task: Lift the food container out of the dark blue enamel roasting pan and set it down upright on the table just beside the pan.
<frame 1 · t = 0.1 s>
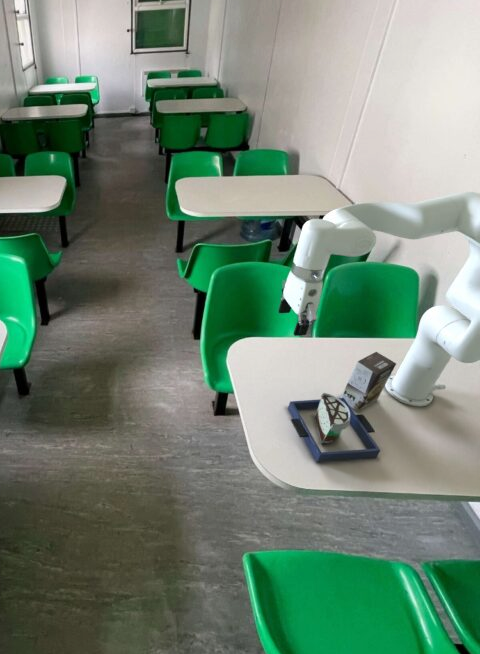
hand: (291, 323, 114), 31 cm above the table, tool pointing down, fingers open, 9 cm apart
coffee box: (358, 400, 132), on the table
roasting pan: (329, 432, 122), on the table
food container: (328, 432, 122), resting in roasting pan
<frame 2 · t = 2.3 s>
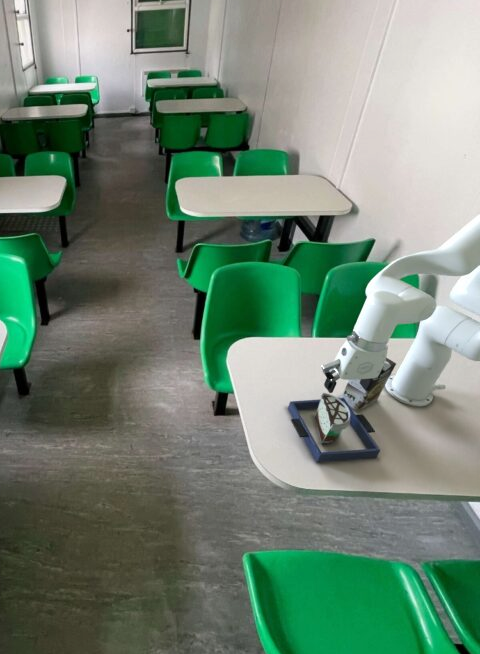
hand: (345, 388, 112), 18 cm above the table, tool pointing down, fingers open, 9 cm apart
nothing on the table moved.
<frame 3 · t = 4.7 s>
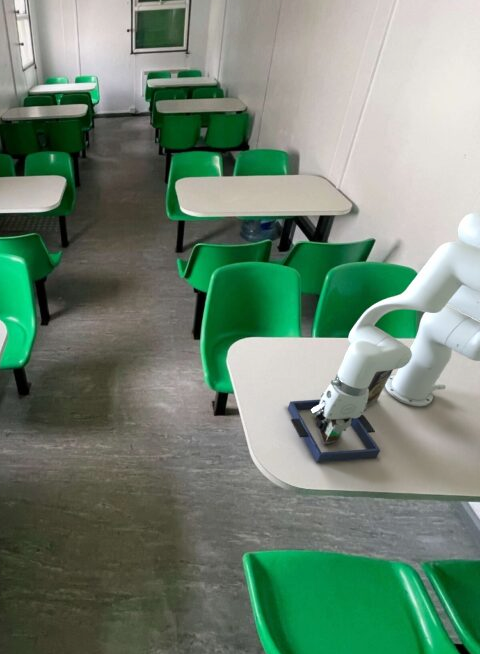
hand: (330, 427, 121), 3 cm above the table, tool pointing down, fingers closed on food container, 5 cm apart
food container: (330, 432, 122), resting in roasting pan, touching gripper
everything else where it was.
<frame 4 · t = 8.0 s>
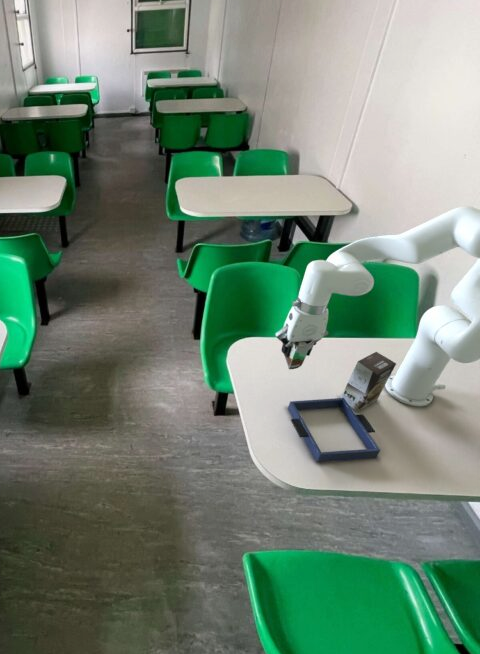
hand: (295, 352, 125), 17 cm above the table, tool pointing down, fingers closed on food container, 5 cm apart
food container: (295, 359, 127), point 14 cm above the table, touching gripper
everything else where it was.
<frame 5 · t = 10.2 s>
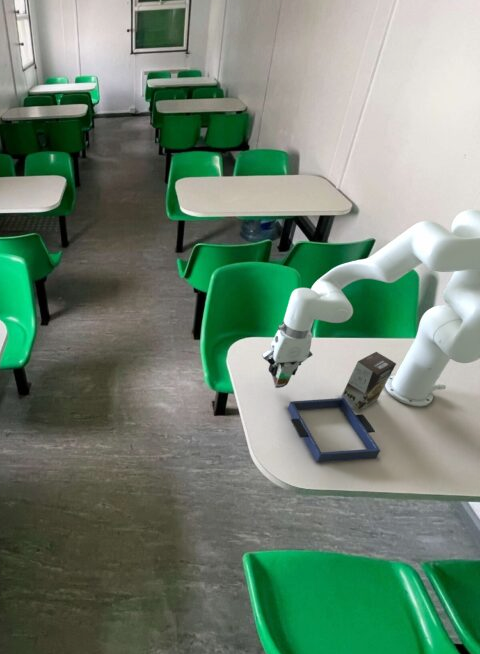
hand: (281, 372, 132), 7 cm above the table, tool pointing down, fingers closed on food container, 5 cm apart
food container: (282, 377, 134), point 4 cm above the table, touching gripper
everything else where it was.
when the fingers open (3 cm above the table, at t = 11.7 s): food container stays where it is, on the table.
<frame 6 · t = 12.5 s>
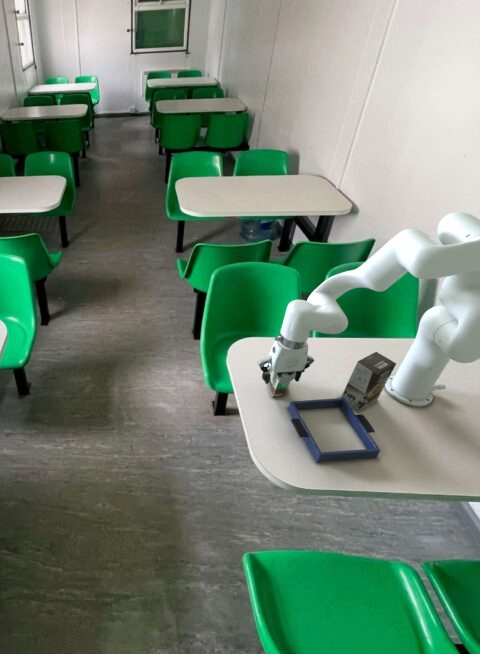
hand: (280, 379, 134), 4 cm above the table, tool pointing down, fingers open, 9 cm apart
food container: (279, 387, 137), on the table
everything else where it was.
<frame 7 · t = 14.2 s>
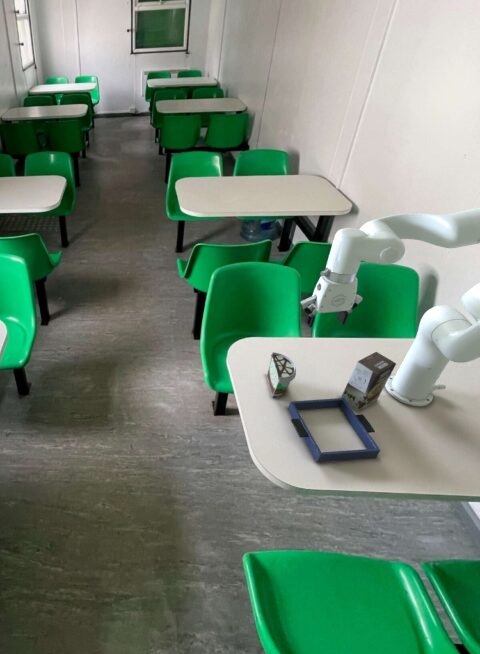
hand: (324, 323, 124), 25 cm above the table, tool pointing down, fingers open, 9 cm apart
nothing on the table moved.
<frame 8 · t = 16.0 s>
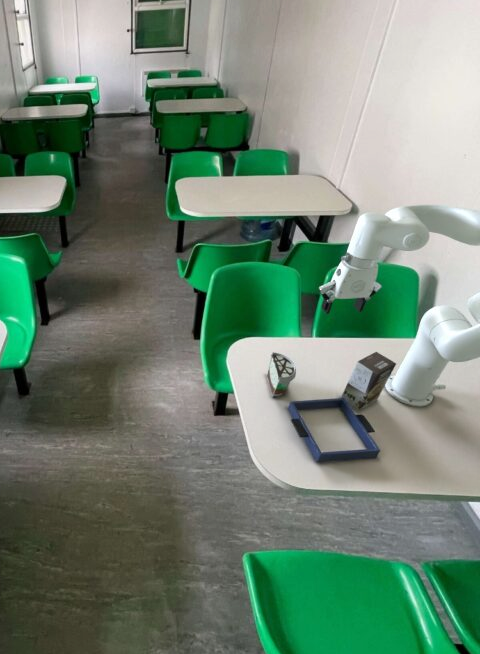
hand: (341, 310, 123), 28 cm above the table, tool pointing down, fingers open, 9 cm apart
nothing on the table moved.
at the end: food container inside the target area (0.8 cm from its centre), on the table; food container tilted 0°; the gripper is holding nothing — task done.
